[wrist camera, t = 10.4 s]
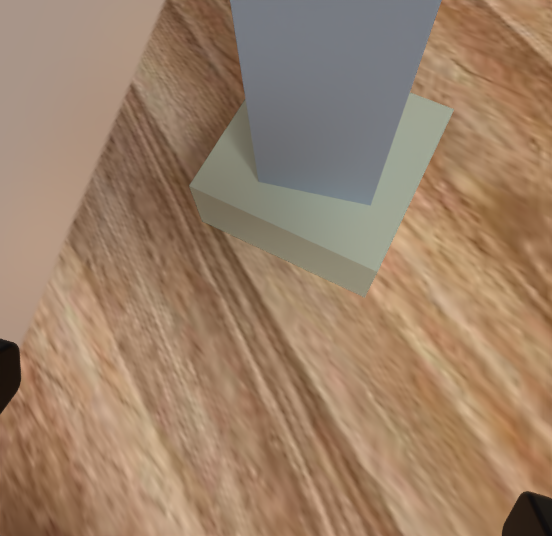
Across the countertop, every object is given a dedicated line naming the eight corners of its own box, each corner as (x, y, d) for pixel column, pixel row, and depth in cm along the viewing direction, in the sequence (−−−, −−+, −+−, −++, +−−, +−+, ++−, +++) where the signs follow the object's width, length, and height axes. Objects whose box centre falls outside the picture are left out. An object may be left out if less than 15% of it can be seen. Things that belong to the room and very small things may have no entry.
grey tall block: (370, 205, 21) (467, -73, 9) (258, 181, 22) (212, -111, 10) (391, 108, 23) (498, -244, 11) (285, 88, 23) (275, -268, 11)
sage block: (363, 300, 24) (377, 271, 20) (203, 224, 25) (188, 185, 22) (430, 157, 27) (453, 109, 23) (282, 97, 28) (281, 43, 24)
